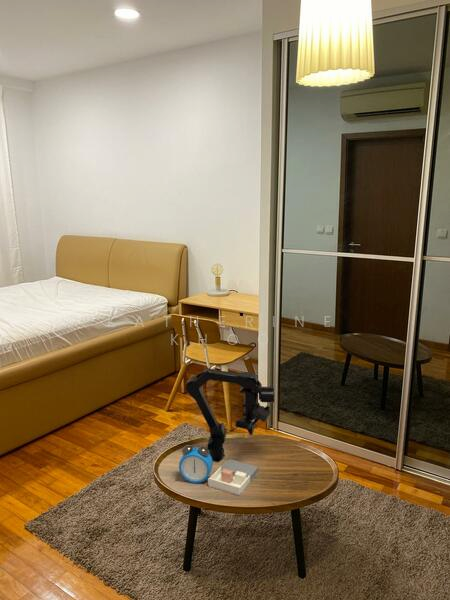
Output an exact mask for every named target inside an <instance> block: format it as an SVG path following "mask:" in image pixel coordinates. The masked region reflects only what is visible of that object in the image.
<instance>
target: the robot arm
mask: <svg viewBox="0 0 450 600" xmlns="http://www.w3.org/2000/svg"><path fill="white" fill-rule="evenodd" d="M208 381H216V382H217V381H218V382H223V383H229V384H235V385H238V386H240V387H241V388H240V389H239V393H242V394H244V395H243V400H244V401H243V402H244V403H243V404H242V407H244V410H243V411H244V412H242V416H243V417H241V416H240V418H238V419H237V420H236V421H235V428H239V429H244V430H247V432H248V434H249V435H250V436H252V435H253V434H254V431H255V427H256V424H257V422H259V420H260V421H261V422H262V423H266V422H267V420H269V418H270V416H271V415H272V410H271V407H270V406H269V405H266V406H263V405H261V404H260V402H261V403H275V386H263V384H262V383H261V382H260V379H258V375H257V374H256V372H254V371H243V372H233V371H228V370H219V369H212V368H210V367H209V368H208V367H207V368H205V370H203V371H201V372H199V373H198V374H197V375H195V376H190V377H189V378H188V380H187V382H186V384H185V391H186V392H187V394H189V396H190V397H191V398H192V399H194V400H195V402H196V405H197V406H198V408H199V410H200V413H201V414H202V416H203V418H204V420H205V421H206V424H207V426H208V428H209V433H210V436H209V438H208V441H207V446H206V447H207V448H208V449H209V454H210V456H211V457H212V461H213V462H215V463H219V462H220V461H221V460H222V459H223V458H224V457H225V456H226V454H225V449H224V444H225V442H226V437H227V431H228V429H227V428H226V427H225V424H224V422H221V423H220V422H219V421H218V420H217V417H216V416H215V413H214V412H213V410H212V408H211V405H210V404H209V402H208V399H207V398H206V396H205V394H204V387H203V386H204V385H205V384H206V383H207V382H208ZM258 400H259V401H260V402H258Z"/></svg>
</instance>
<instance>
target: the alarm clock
mask: <svg viewBox="0 0 450 600" xmlns="http://www.w3.org/2000/svg"><path fill="white" fill-rule="evenodd" d="M181 453H182V456H181V458H180V461H179V463H178V470H179V473H180V475H181V476H182V478H184V479H185V480H186V483H187V482H190V483H193V484H194V483H195V484H199V483H202V484H204V481H206V480H208V478H209V476H210V474H211V471H212V469H213V465H214V464H213V463H214V461H212V457H211V456H210V454H209V449H208V446H205V445H200V446H194V447H193V445H192V444H191V445H190V444H186V445H184V446H183V447H182V448H181Z"/></svg>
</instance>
